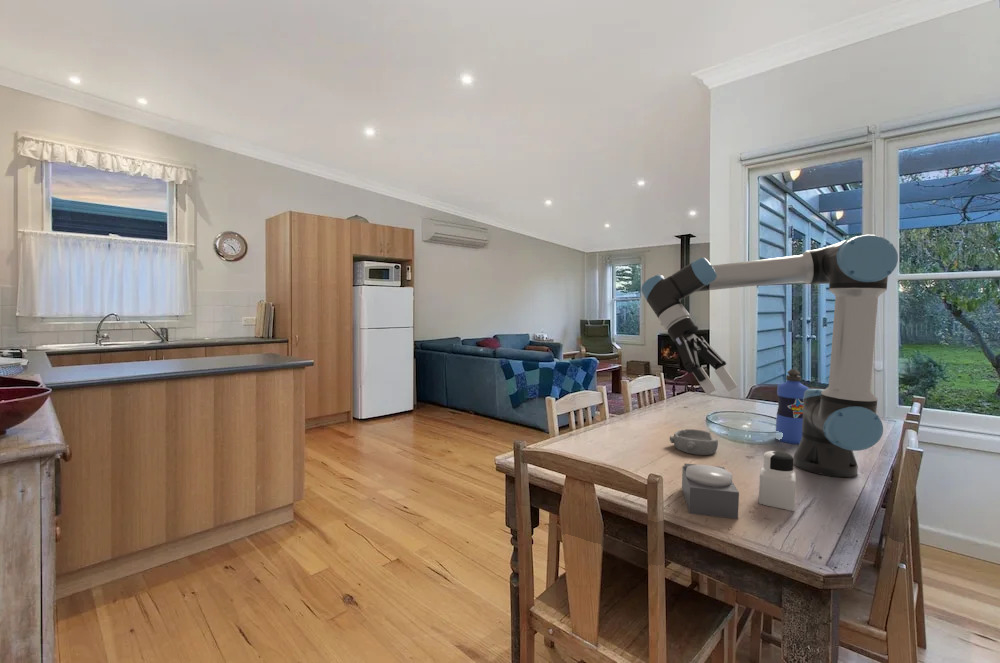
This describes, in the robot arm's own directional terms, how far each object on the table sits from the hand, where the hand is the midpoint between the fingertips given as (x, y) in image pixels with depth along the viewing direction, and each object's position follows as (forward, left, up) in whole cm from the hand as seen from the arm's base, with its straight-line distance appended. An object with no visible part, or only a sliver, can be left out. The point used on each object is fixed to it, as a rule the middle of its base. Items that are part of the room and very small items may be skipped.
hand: (722, 390), depth 118 cm
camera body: (+5, +13, -25) cm, 29 cm away
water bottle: (-32, -50, -25) cm, 64 cm away
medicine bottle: (-11, +8, -25) cm, 29 cm away
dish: (+2, -30, -25) cm, 39 cm away
